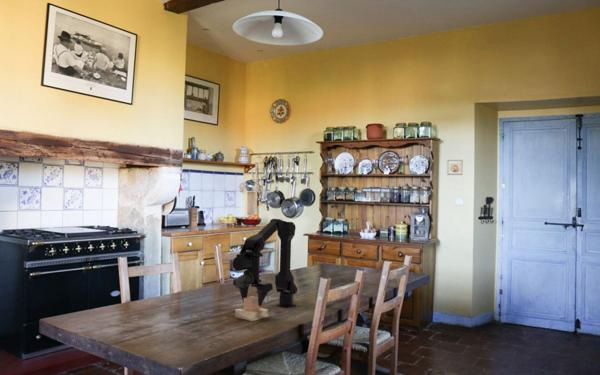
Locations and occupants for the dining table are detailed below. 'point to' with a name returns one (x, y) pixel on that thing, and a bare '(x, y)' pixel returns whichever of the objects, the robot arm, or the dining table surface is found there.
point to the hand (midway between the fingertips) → (252, 304)
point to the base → (251, 314)
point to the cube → (251, 304)
